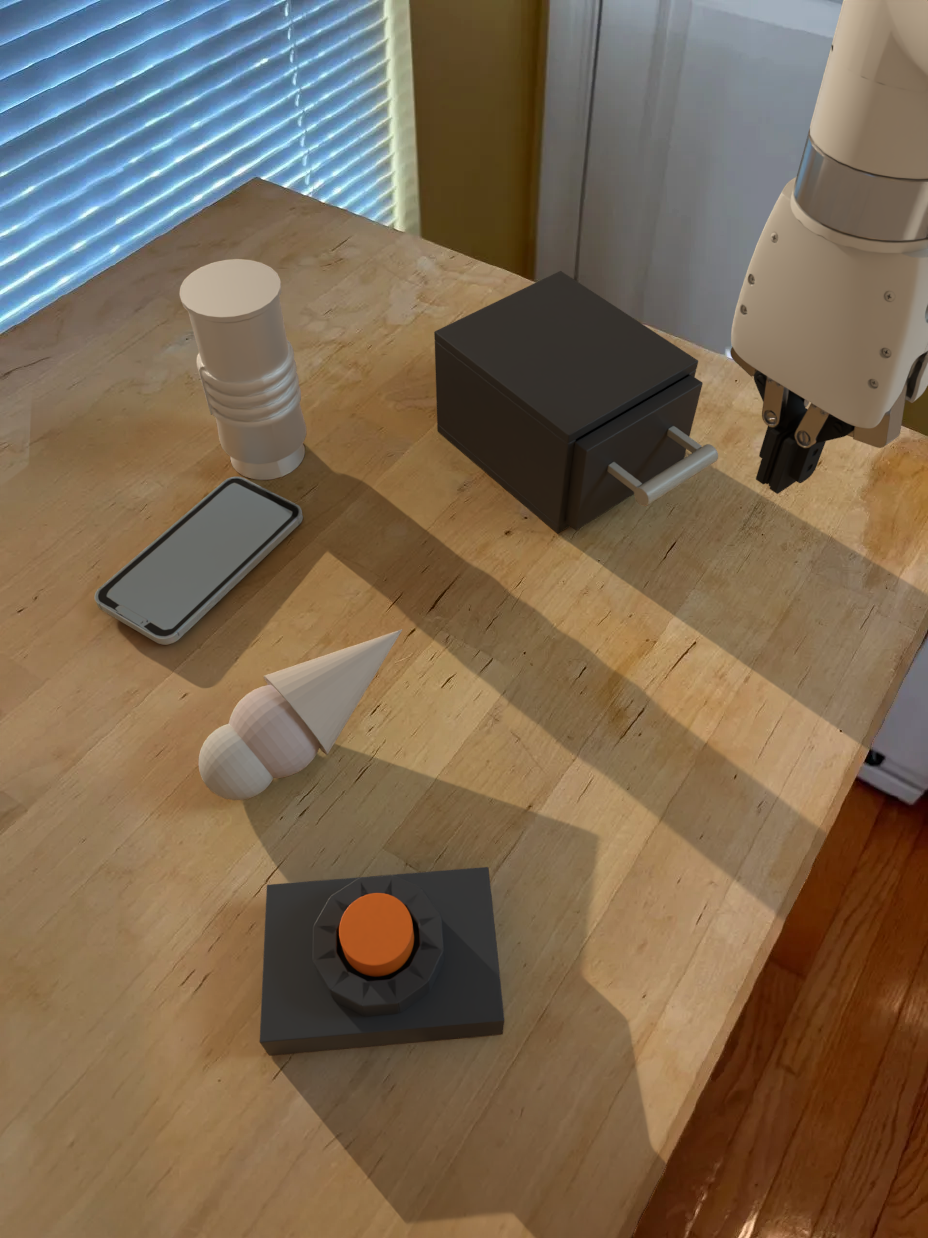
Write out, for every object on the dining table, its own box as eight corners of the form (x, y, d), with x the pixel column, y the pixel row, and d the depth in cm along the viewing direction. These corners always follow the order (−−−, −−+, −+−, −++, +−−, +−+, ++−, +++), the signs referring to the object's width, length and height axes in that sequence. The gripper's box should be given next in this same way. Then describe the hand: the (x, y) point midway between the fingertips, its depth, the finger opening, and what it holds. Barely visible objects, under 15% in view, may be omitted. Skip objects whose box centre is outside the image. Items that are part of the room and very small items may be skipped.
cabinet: (675, 460, 74) (699, 360, 67) (557, 534, 70) (568, 435, 62) (551, 370, 81) (560, 270, 74) (437, 431, 77) (433, 331, 69)
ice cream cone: (418, 665, 62) (235, 816, 58) (362, 592, 61) (172, 740, 57) (446, 668, 56) (244, 836, 53) (385, 587, 55) (174, 752, 51)
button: (412, 902, 48) (410, 889, 47) (415, 973, 46) (414, 962, 45) (342, 908, 48) (338, 895, 47) (342, 980, 46) (338, 968, 45)
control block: (487, 885, 53) (489, 852, 50) (502, 1034, 48) (505, 1010, 45) (274, 903, 53) (260, 871, 49) (268, 1056, 48) (252, 1033, 44)
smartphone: (308, 509, 70) (166, 644, 62) (309, 518, 71) (169, 652, 63) (232, 472, 73) (87, 597, 65) (234, 481, 73) (91, 606, 65)
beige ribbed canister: (219, 433, 77) (173, 266, 65) (304, 419, 78) (274, 252, 66) (227, 491, 72) (180, 324, 61) (317, 475, 73) (288, 308, 62)
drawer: (724, 493, 71) (748, 412, 65) (616, 565, 67) (631, 486, 60) (565, 377, 79) (573, 296, 73) (460, 434, 75) (459, 353, 69)
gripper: (1079, 217, 41) (924, 516, 55) (803, 103, 48) (729, 393, 63) (981, 279, 38) (844, 578, 52) (703, 147, 45) (650, 441, 60)
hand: (782, 476), depth 57 cm, fingers closed
